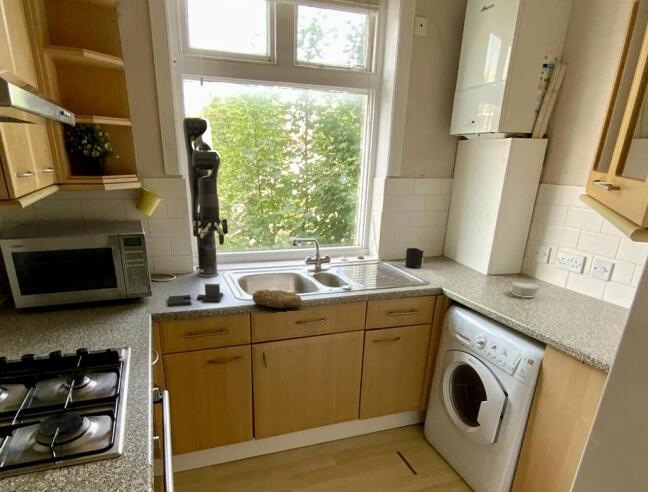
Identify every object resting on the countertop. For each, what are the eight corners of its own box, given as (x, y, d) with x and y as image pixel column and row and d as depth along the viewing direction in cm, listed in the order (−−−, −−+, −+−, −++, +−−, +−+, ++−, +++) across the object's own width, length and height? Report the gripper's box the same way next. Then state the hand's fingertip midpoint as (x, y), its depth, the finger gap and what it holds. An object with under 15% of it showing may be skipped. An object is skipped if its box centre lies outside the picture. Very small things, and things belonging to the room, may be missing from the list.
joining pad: (200, 294, 187) (199, 281, 185) (223, 295, 188) (222, 281, 185) (195, 302, 178) (194, 287, 176) (219, 302, 178) (218, 288, 176)
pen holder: (404, 268, 238) (406, 250, 234) (405, 264, 246) (406, 247, 243) (421, 269, 236) (423, 252, 232) (421, 265, 244) (423, 248, 240)
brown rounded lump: (250, 308, 176) (285, 310, 163) (249, 289, 175) (284, 289, 162) (272, 306, 186) (306, 307, 173) (271, 288, 185) (306, 288, 172)
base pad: (169, 298, 182) (168, 296, 181) (190, 297, 184) (190, 294, 184) (168, 306, 173) (168, 303, 172) (191, 304, 175) (190, 302, 175)
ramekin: (530, 292, 199) (533, 281, 197) (540, 300, 189) (543, 289, 187) (506, 291, 200) (508, 280, 198) (514, 298, 190) (517, 287, 188)
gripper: (220, 203, 172) (222, 242, 178) (188, 205, 164) (191, 246, 170) (229, 204, 166) (231, 245, 172) (196, 207, 158) (199, 249, 164)
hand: (211, 245), depth 171 cm, fingers open, 8 cm apart
